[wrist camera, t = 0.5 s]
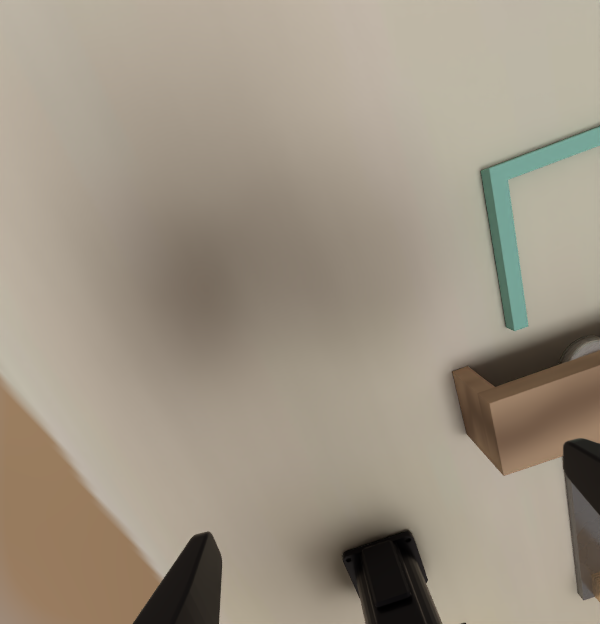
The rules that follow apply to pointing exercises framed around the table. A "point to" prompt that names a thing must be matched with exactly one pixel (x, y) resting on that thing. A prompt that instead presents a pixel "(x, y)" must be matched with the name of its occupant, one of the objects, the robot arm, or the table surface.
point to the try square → (584, 542)
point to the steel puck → (581, 348)
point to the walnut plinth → (531, 412)
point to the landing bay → (503, 216)
